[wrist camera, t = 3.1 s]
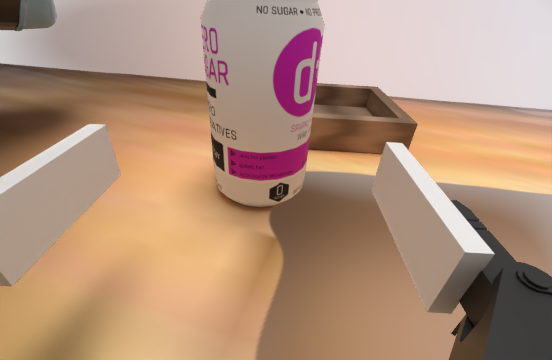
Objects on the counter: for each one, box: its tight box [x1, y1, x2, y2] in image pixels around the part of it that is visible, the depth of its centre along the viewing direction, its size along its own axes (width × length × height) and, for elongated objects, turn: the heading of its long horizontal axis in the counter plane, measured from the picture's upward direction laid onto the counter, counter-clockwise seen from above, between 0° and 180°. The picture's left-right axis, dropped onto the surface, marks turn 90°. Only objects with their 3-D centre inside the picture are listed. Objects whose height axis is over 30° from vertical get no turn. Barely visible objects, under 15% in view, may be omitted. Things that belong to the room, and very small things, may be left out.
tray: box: [308, 83, 417, 154], centre depth 38 cm, size 16×16×4 cm
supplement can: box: [201, 0, 324, 207], centre depth 21 cm, size 8×8×15 cm
